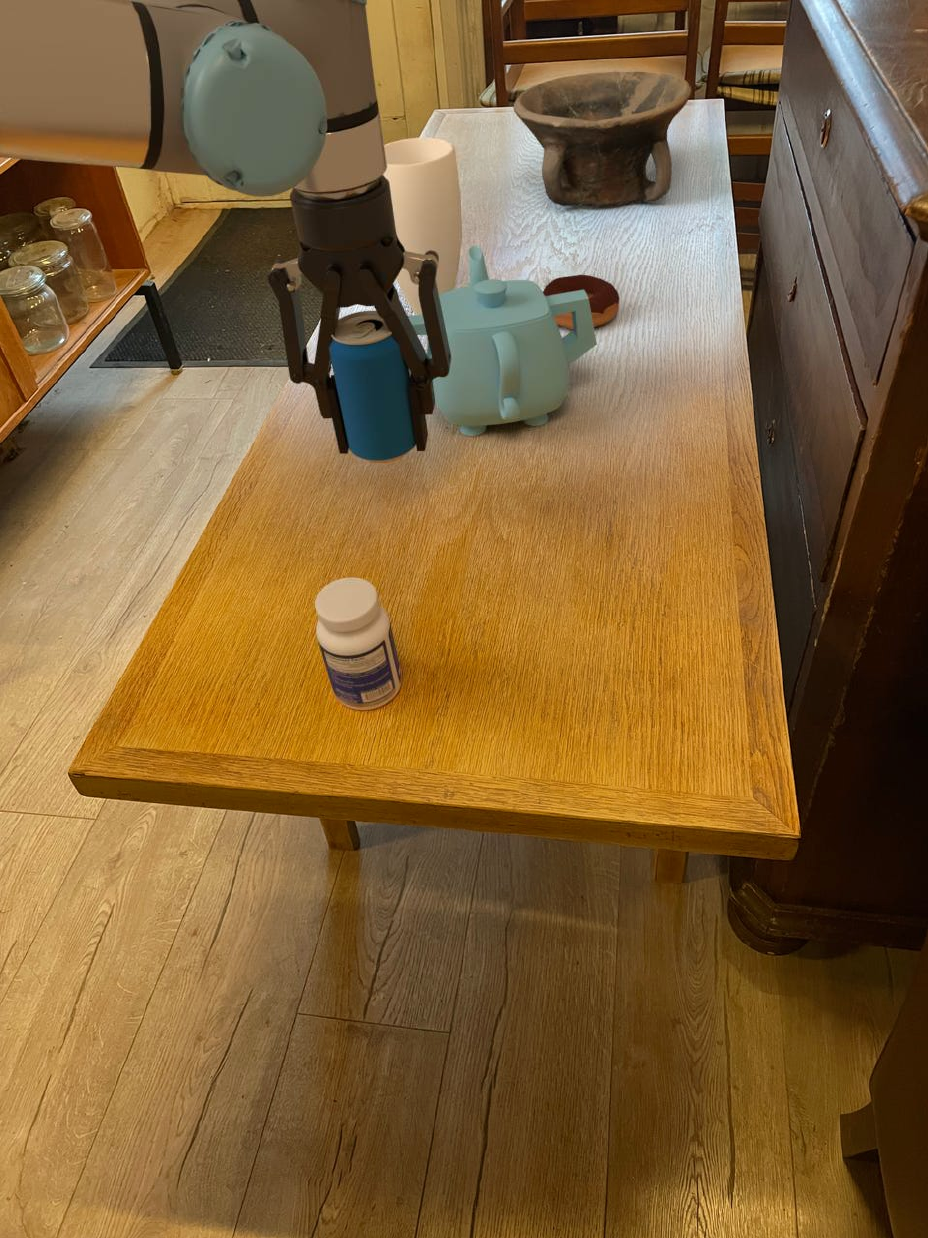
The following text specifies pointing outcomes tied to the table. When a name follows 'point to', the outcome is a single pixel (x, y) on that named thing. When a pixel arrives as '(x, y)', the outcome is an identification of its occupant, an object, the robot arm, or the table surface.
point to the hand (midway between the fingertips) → (384, 443)
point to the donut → (598, 293)
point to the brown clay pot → (604, 135)
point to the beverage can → (372, 388)
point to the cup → (426, 207)
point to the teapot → (506, 350)
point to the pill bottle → (357, 644)
